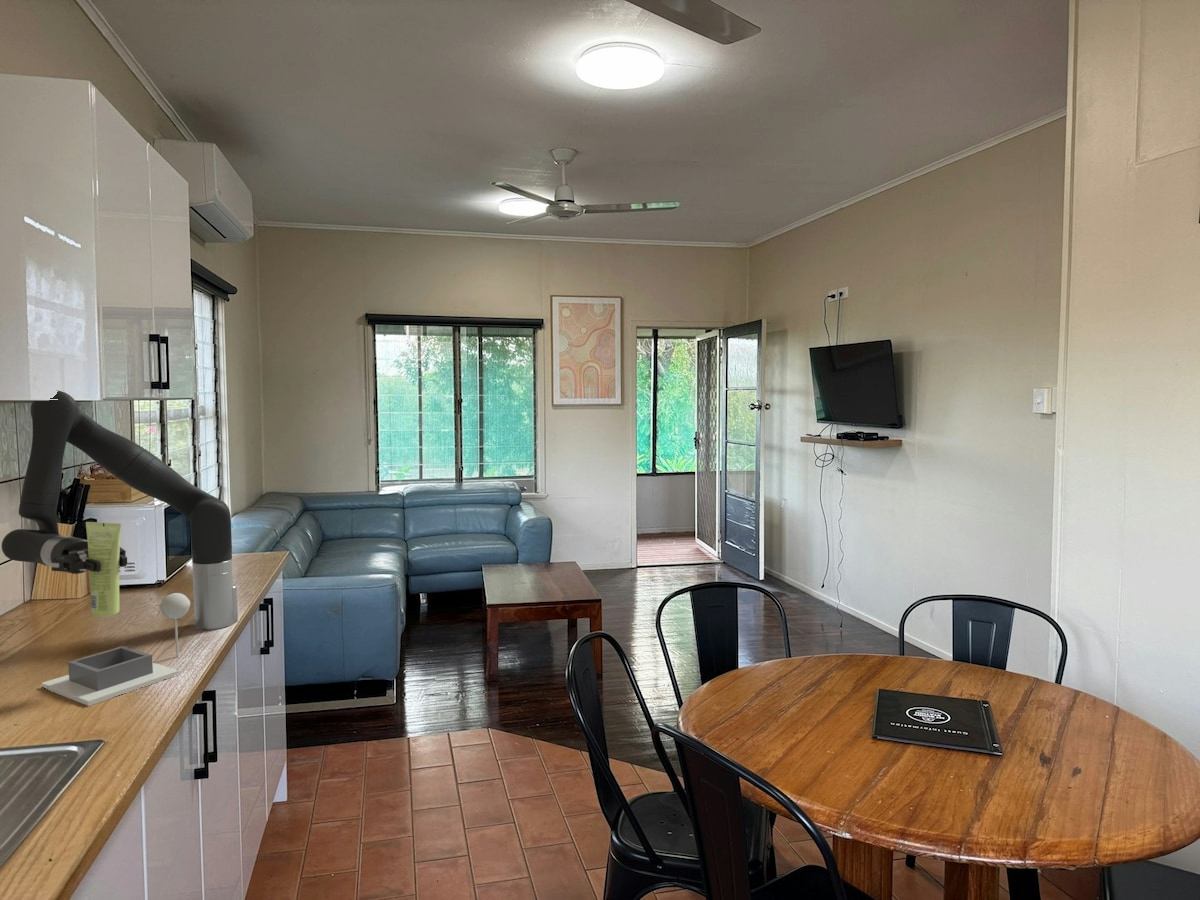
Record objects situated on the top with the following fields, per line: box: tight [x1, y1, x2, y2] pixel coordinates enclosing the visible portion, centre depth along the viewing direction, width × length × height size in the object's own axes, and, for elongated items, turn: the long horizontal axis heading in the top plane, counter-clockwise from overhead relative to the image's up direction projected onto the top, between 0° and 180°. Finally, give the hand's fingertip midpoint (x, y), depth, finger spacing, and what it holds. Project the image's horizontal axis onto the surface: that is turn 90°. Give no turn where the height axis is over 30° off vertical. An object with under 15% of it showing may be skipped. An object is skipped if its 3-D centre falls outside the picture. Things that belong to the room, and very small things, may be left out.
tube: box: [85, 521, 122, 617], centre depth 155 cm, size 6×5×20 cm
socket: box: [41, 645, 180, 707], centre depth 157 cm, size 18×18×5 cm
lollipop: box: [159, 592, 191, 657], centre depth 171 cm, size 6×6×15 cm
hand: (111, 564), depth 154 cm, fingers closed on tube, 4 cm apart
